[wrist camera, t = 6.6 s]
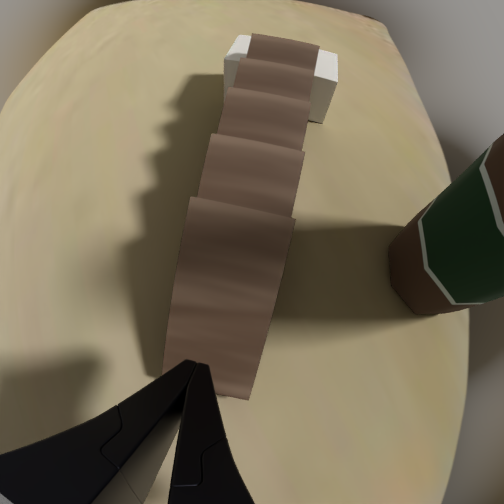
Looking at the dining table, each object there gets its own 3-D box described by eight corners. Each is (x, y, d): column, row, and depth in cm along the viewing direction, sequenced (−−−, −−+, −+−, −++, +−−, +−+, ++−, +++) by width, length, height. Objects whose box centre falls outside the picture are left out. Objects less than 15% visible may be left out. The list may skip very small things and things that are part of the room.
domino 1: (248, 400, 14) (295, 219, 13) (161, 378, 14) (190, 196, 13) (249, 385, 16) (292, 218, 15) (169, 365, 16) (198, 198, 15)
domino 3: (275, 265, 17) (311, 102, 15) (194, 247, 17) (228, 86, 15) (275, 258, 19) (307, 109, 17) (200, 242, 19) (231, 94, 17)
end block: (322, 123, 23) (337, 82, 19) (223, 103, 23) (223, 59, 19) (324, 92, 25) (337, 54, 20) (237, 74, 25) (239, 34, 20)
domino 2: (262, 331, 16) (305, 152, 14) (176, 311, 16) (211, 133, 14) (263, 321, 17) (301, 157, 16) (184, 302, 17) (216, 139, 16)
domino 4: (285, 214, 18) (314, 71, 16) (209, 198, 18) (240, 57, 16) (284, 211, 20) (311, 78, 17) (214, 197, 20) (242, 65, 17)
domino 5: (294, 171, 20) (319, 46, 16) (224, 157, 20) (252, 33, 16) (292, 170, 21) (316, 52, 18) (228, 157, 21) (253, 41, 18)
